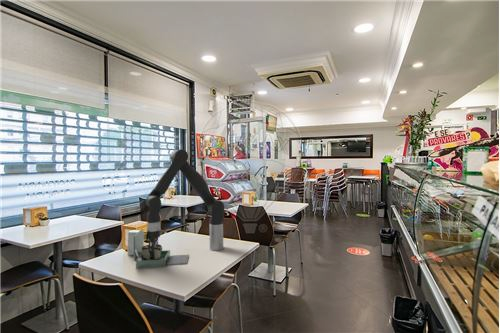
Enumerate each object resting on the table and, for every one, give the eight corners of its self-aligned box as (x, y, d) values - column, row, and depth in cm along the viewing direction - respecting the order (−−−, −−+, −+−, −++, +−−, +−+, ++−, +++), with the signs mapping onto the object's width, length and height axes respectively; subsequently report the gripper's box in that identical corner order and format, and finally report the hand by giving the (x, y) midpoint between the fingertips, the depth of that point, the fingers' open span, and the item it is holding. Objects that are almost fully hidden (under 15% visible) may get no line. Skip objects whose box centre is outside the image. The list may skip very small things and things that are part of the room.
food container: (166, 260, 158) (166, 244, 158) (161, 264, 152) (161, 247, 151) (146, 260, 159) (146, 243, 159) (141, 263, 153) (141, 246, 153)
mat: (188, 255, 166) (188, 254, 166) (186, 264, 152) (186, 263, 152) (170, 256, 164) (170, 255, 164) (167, 265, 150) (167, 264, 150)
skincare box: (127, 255, 167) (127, 232, 167) (131, 252, 173) (131, 229, 173) (140, 255, 167) (140, 232, 167) (144, 252, 173) (143, 229, 173)
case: (170, 256, 164) (169, 228, 164) (165, 266, 148) (165, 235, 148) (141, 258, 162) (141, 229, 162) (133, 268, 146) (133, 236, 146)
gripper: (157, 232, 148) (157, 260, 149) (162, 226, 163) (162, 252, 163) (143, 232, 147) (144, 261, 148) (149, 226, 161) (150, 252, 162)
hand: (153, 256), depth 155 cm, fingers open, 8 cm apart
